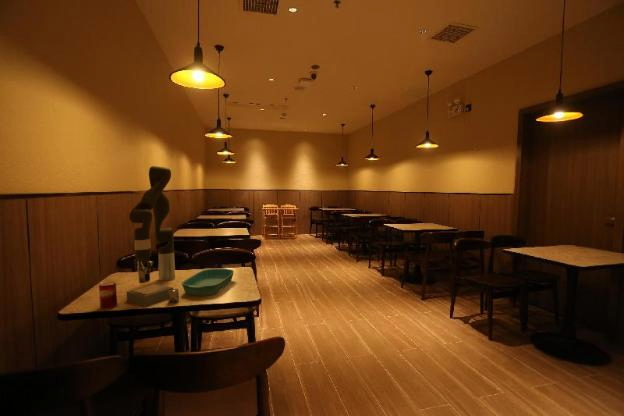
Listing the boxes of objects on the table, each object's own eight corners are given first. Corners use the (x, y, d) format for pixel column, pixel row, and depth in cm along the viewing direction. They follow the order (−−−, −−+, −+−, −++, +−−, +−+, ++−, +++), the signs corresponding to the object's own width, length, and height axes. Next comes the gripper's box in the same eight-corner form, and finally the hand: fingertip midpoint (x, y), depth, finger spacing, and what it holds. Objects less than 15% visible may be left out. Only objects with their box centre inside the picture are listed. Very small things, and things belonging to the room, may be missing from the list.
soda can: (105, 304, 161) (103, 281, 161) (120, 303, 162) (118, 280, 161) (96, 310, 154) (95, 285, 153) (112, 309, 155) (111, 285, 154)
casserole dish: (215, 299, 167) (214, 286, 166) (175, 298, 170) (174, 285, 169) (238, 279, 204) (238, 268, 203) (205, 278, 206) (205, 267, 206)
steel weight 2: (166, 302, 163) (165, 291, 163) (174, 299, 167) (174, 288, 167) (172, 304, 161) (172, 292, 160) (181, 300, 165) (180, 289, 164)
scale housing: (126, 301, 166) (126, 291, 166) (155, 291, 180) (154, 283, 179) (145, 306, 158) (144, 296, 158) (173, 296, 172) (173, 287, 171)
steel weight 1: (136, 282, 165) (136, 270, 164) (145, 279, 169) (145, 268, 168) (142, 283, 162) (142, 272, 162) (151, 280, 166) (151, 269, 166)
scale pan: (132, 293, 166) (132, 290, 166) (153, 287, 177) (153, 284, 177) (146, 297, 160) (146, 294, 160) (167, 290, 171) (167, 287, 171)
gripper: (127, 248, 165) (129, 280, 166) (144, 250, 158) (145, 283, 159) (141, 245, 171) (143, 276, 172) (158, 247, 164) (159, 279, 165)
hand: (144, 279), depth 165 cm, fingers closed on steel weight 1, 5 cm apart
